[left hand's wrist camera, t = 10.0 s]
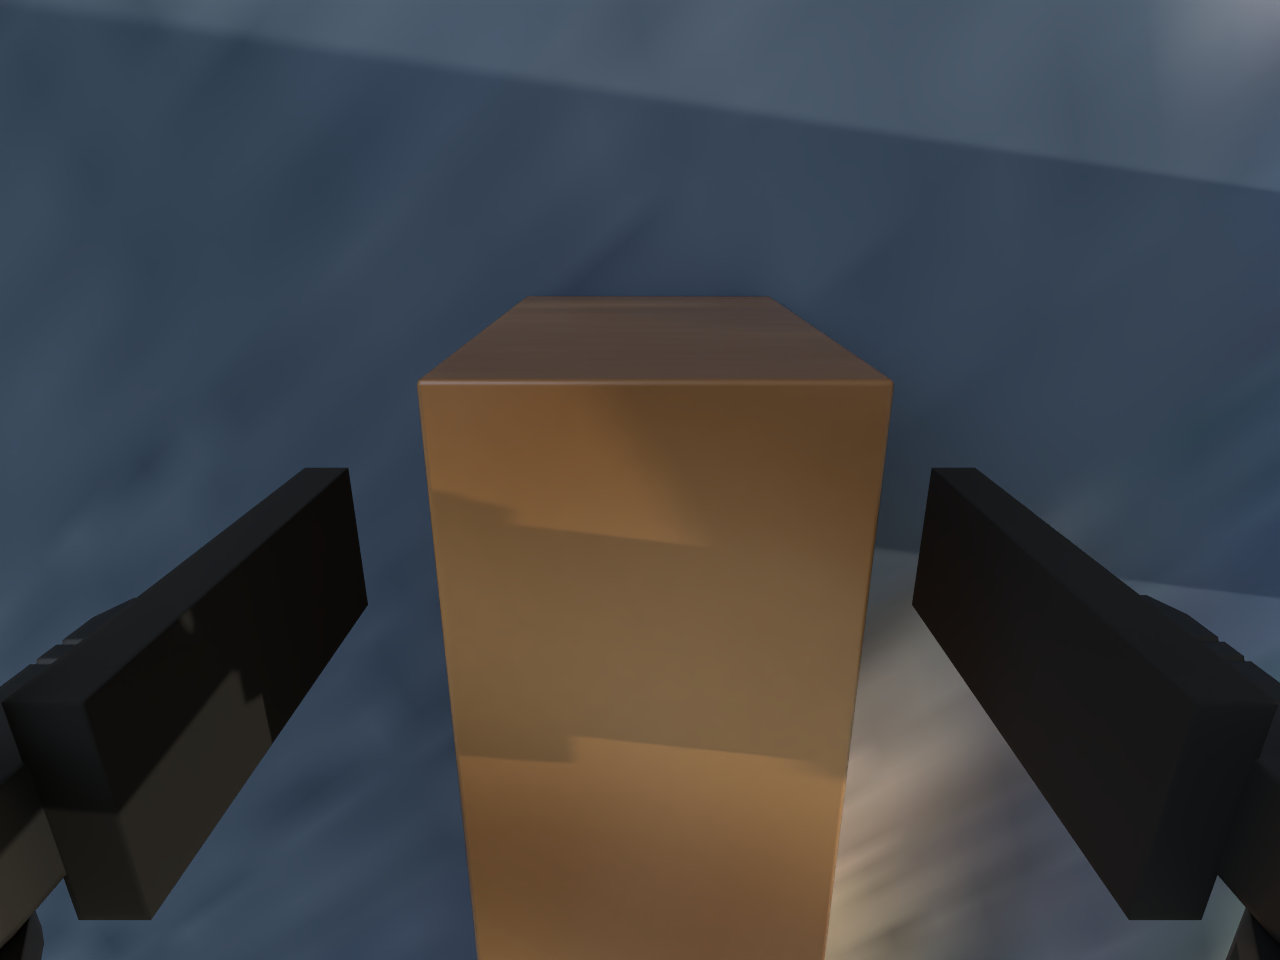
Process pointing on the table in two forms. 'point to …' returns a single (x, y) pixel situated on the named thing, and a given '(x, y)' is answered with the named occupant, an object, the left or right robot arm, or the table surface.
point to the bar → (653, 619)
